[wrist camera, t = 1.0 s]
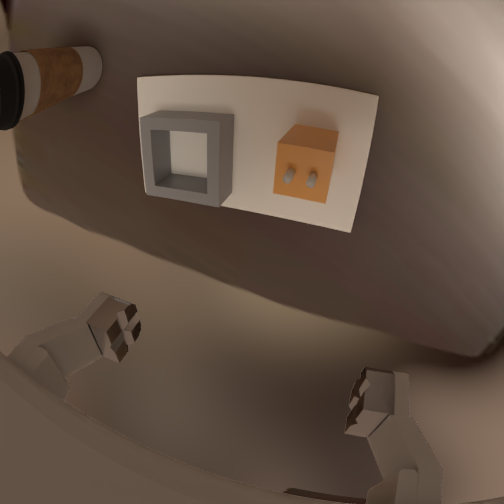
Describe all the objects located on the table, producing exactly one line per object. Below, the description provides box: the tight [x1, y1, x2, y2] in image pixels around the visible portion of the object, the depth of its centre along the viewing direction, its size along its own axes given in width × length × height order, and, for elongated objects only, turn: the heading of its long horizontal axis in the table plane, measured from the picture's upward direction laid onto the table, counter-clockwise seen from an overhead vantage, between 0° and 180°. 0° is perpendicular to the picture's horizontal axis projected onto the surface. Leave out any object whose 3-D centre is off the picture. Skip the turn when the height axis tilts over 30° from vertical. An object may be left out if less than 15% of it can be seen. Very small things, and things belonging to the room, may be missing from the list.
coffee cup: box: [0, 46, 103, 130], centre depth 23 cm, size 8×8×15 cm
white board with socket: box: [137, 75, 379, 233], centre depth 28 cm, size 14×24×4 cm, turn 87°
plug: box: [273, 124, 339, 204], centre depth 24 cm, size 4×4×9 cm
